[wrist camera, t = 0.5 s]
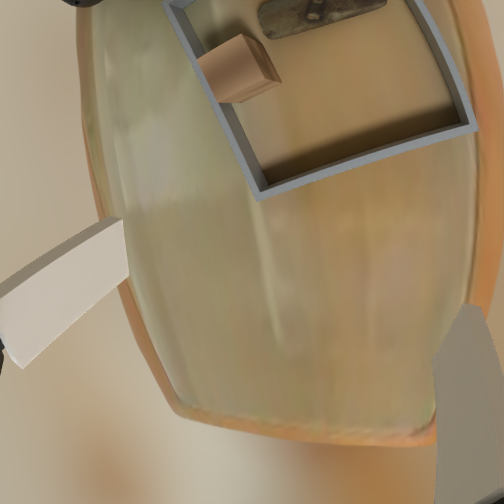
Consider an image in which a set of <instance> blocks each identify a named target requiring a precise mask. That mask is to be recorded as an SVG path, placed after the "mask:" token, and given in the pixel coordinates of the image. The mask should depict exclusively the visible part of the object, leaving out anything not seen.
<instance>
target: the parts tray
mask: <svg viewBox="0 0 504 504" xmlns="http://www.w3.org/2000/svg"><path fill="white" fill-rule="evenodd" d="M194 1H195V0H165V1H163V2H162V3H161V5H162V7H163V9H164V11H165V13H166V14H167V16H168V18H169V20H170V22H171V24H172V26H173V28H174V30H175V32H176V34H177V36H178V38H179V40H180V42H181V44H182V46H183V48H184V50H185V52H186V54H187V56H188V58H189V60H190V62H191V64H192V66H193V68H194V70H195V72H196V75H197V77H198V79H199V81H200V83H201V85H202V87H203V89H204V91H205V93H206V95H207V97H208V99H209V101H210V103H211V105H212V108H213V110H214V112H215V114H216V116H217V118H218V120H219V122H220V124H221V126H222V129H223V131H224V133H225V135H226V137H227V139H228V141H229V143H230V146H231V148H232V150H233V152H234V154H235V156H236V158H237V161H238V163H239V165H240V167H241V169H242V171H243V174H244V176H245V178H246V180H247V182H248V184H249V187H250V189H251V191H252V193H253V195H254V198H255V200H256V202H258V201H261V200H263V199H266V198H269V197H272V196H274V195H277V194H280V193H283V192H286V191H288V190H291V189H294V188H297V187H300V186H302V185H305V184H308V183H311V182H314V181H317V180H320V179H323V178H326V177H329V176H332V175H334V174H337V173H340V172H343V171H346V170H349V169H353V168H356V167H359V166H362V165H365V164H368V163H371V162H374V161H377V160H380V159H384V158H387V157H390V156H393V155H396V154H400V153H403V152H406V151H409V150H413V149H416V148H419V147H423V146H426V145H430V144H433V143H436V142H440V141H443V140H447V139H450V138H454V137H458V136H461V135H465V134H468V133H472V132H476V131H479V129H478V125H477V122H476V119H475V116H474V113H473V110H472V107H471V104H470V101H469V98H468V95H467V93H466V90H465V87H464V85H463V82H462V80H461V77H460V75H459V72H458V70H457V67H456V65H455V63H454V60H453V58H452V56H451V54H450V52H449V49H448V47H447V45H446V43H445V41H444V39H443V37H442V35H441V33H440V31H439V29H438V27H437V25H436V23H435V22H434V20H433V18H432V16H431V14H430V13H429V11H428V9H427V7H426V6H425V4H424V2H423V0H405V1H406V2H407V4H408V6H409V7H410V9H411V11H412V13H413V14H414V16H415V18H416V20H417V22H418V23H419V25H420V27H421V29H422V31H423V33H424V35H425V37H426V39H427V41H428V43H429V45H430V47H431V49H432V51H433V53H434V55H435V57H436V59H437V62H438V64H439V66H440V68H441V71H442V73H443V76H444V78H445V80H446V83H447V85H448V88H449V90H450V93H451V96H452V98H453V101H454V104H455V107H456V109H457V112H458V115H459V118H460V121H461V123H457V124H453V125H450V126H446V127H443V128H439V129H436V130H432V131H429V132H425V133H422V134H419V135H415V136H412V137H409V138H405V139H402V140H399V141H396V142H392V143H389V144H386V145H383V146H380V147H377V148H374V149H370V150H367V151H364V152H361V153H358V154H355V155H352V156H349V157H346V158H343V159H341V160H338V161H335V162H332V163H329V164H326V165H323V166H320V167H318V168H315V169H312V170H309V171H306V172H304V173H301V174H298V175H295V176H293V177H290V178H287V179H285V180H282V181H279V182H276V183H274V184H271V185H268V183H267V181H266V178H265V176H264V174H263V172H262V170H261V167H260V165H259V163H258V161H257V159H256V156H255V154H254V152H253V150H252V148H251V146H250V143H249V141H248V139H247V137H246V135H245V133H244V131H243V128H242V126H241V124H240V122H239V120H238V118H237V116H236V114H235V112H234V109H233V107H232V105H231V103H217V101H216V99H215V97H214V94H213V92H212V90H211V88H210V86H209V84H208V82H207V80H206V78H205V76H204V74H203V72H202V70H201V68H200V66H199V64H198V62H197V59H198V58H200V57H201V56H203V55H205V54H206V53H205V51H204V49H203V47H202V45H201V43H200V41H199V39H198V37H197V35H196V33H195V31H194V30H193V28H192V26H191V24H190V22H189V20H188V18H187V16H186V14H185V13H184V11H183V8H185V7H186V6H188V5H189V4H191V3H192V2H194Z"/></svg>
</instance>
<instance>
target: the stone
mask: <svg viewBox="0 0 504 504" xmlns="http://www.w3.org/2000/svg"><path fill="white" fill-rule="evenodd" d="M386 3H387V0H273V1H270V2H267V3H265V4H263V5H262V7H261V8H260V11H259V16H258V17H259V19H260V25H262V26H263V34H264V35H265V36H266V37H267V38H269V39H271V40H275V39H279V38H283V37H287V36H291V35H294V34H298V33H301V32H304V31H308V30H311V29H315V28H318V27H321V26H325V25H328V24H331V23H334V22H338V21H341V20H344V19H347V18H351V17H354V16H357V15H360V14H364V13H367V12H370V11H373V10H376V9H379V8H380V7H383V6H385V5H386Z"/></svg>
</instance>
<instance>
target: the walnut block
mask: <svg viewBox="0 0 504 504" xmlns="http://www.w3.org/2000/svg"><path fill="white" fill-rule="evenodd" d="M197 62H198V64H199V66H200V68H201V70H202V72H203V74H204V76H205V78H206V80H207V82H208V84H209V86H210V88H211V90H212V92H213V94H214V97H215V99H216V101H217V103H242V102H244V101H246V100H248V99H250V98H252V97H254V96H256V95H258V94H260V93H263V92H265V91H267V90H269V89H271V88H273V87H275V86H278V85H280V84H282V81H281V79H280V77H279V75H278V73H277V71H276V69H275V67H274V66H273V64H272V62H271V60H270V58H269V56H268V54H267V52H266V50H265V48H264V46H263V45H262V44H261V43H259V42H257V41H255V40H253V39H251V38H249V37H247V36H245V35H243V34H239V35H237V36H236V37H234V38H232V39H230V40H228V41H227V42H225V43H223V44H221V45H220V46H218V47H216V48H215V49H213V50H211V51H210V52H208V53H206V54H205V55H203V56H201V57H200V58H198V59H197Z"/></svg>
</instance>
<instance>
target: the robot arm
mask: <svg viewBox="0 0 504 504" xmlns="http://www.w3.org/2000/svg"><path fill="white" fill-rule="evenodd" d="M62 1H64V2H66V3H68V4H69V5H71V6H75V7H83V8H85V7H91V6H93V5H96V4H98V3H99V2H101V1H102V0H62ZM128 276H129V269H128V262H127V255H126V247H125V239H124V230H123V220H122V219H121V218H117V217H113V216H108V217H106V218H104V219H103V220H101V221H99V222H97V223H95V224H94V225H92V226H90V227H89V228H87V229H85V230H83V231H82V232H80V233H78V234H76V235H75V236H73V237H71V238H70V239H68V240H66V241H65V242H63V243H61V244H60V245H58V246H57V247H55V248H53V249H52V250H50V251H49V252H47V253H45V254H44V255H42V256H41V257H39V258H38V259H36V260H35V261H33V262H31V263H30V264H28V265H27V266H25V267H24V268H22V269H21V270H19V271H18V272H16V273H15V274H13V275H12V276H11V277H9V278H8V279H6V280H5V281H3V282H2V283H1V284H0V374H1V369H2V365H3V360H4V355H3V353H2V350H3V349H4V348H5V349H6V350H7V352H8V354H9V356H10V358H11V359H12V360H13V361H14V362H15V363H16V364H17V365H18V366H19V367H20V368H21V369H24V368H25V367H26V366H27V365H28V364H29V363H30V362H31V361H32V360H33V359H34V358H35V357H36V356H37V355H38V354H40V353H41V352H42V351H43V350H44V349H45V348H46V347H47V346H48V345H49V344H50V343H52V342H53V341H54V340H55V339H56V338H57V337H58V336H59V335H60V334H62V333H63V332H64V331H65V330H66V329H67V328H68V327H69V326H71V325H72V324H73V323H74V322H75V321H76V320H77V319H79V318H80V317H81V316H82V315H83V314H84V313H85V312H87V311H88V310H89V309H90V308H91V307H92V306H93V305H95V304H96V303H97V302H98V301H99V300H101V299H102V298H103V297H104V296H105V295H107V294H108V293H109V292H110V291H111V290H112V289H114V288H115V287H116V286H117V285H118V284H120V283H121V282H122V281H123V280H125V279H126V278H127V277H128ZM432 366H433V376H434V387H435V402H436V424H437V464H436V485H435V498H434V504H504V376H503V372H502V368H501V365H500V362H499V358H498V355H497V352H496V349H495V346H494V343H493V340H492V337H491V334H490V331H489V328H488V326H487V323H486V320H485V317H484V315H483V312H482V310H481V307H479V306H475V305H471V304H467V303H463V304H462V306H461V308H460V310H459V312H458V314H457V316H456V318H455V320H454V322H453V324H452V326H451V327H450V329H449V331H448V333H447V335H446V336H445V338H444V340H443V342H442V343H441V345H440V347H439V349H438V350H437V352H436V354H435V355H434V357H433V359H432Z"/></svg>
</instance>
